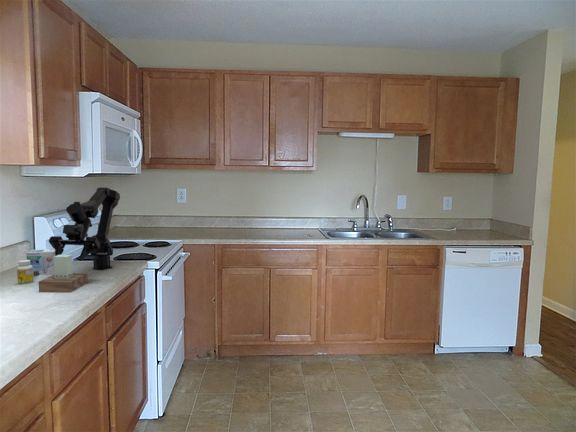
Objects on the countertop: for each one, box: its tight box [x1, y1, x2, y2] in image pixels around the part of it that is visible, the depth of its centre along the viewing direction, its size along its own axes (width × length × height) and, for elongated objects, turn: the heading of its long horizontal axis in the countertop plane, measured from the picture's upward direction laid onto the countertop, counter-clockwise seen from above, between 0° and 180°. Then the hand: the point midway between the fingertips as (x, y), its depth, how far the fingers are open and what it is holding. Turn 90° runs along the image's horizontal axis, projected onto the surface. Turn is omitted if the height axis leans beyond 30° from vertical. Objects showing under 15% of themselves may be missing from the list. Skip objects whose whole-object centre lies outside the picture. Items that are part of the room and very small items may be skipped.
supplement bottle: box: [16, 259, 34, 285], centre depth 165 cm, size 5×5×10 cm
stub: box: [53, 254, 74, 279], centre depth 159 cm, size 4×5×12 cm
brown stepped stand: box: [38, 272, 89, 293], centre depth 159 cm, size 20×16×5 cm
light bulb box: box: [26, 248, 55, 277], centre depth 180 cm, size 11×7×11 cm, turn 105°
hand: (68, 260), depth 162 cm, fingers open, 9 cm apart
